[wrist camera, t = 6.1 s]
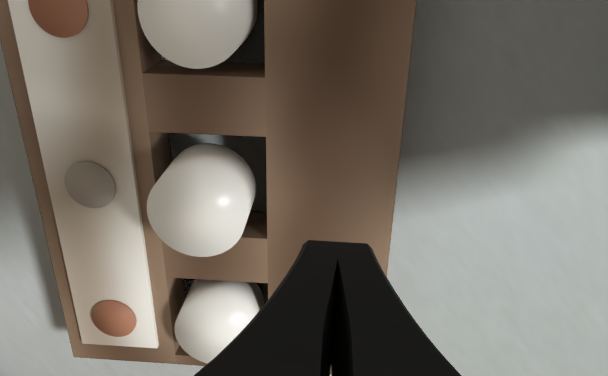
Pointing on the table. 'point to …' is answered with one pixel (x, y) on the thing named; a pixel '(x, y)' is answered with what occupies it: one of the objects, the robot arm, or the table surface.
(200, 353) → the button
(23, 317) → the table surface
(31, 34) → the board
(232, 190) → the button middle
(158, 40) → the button
